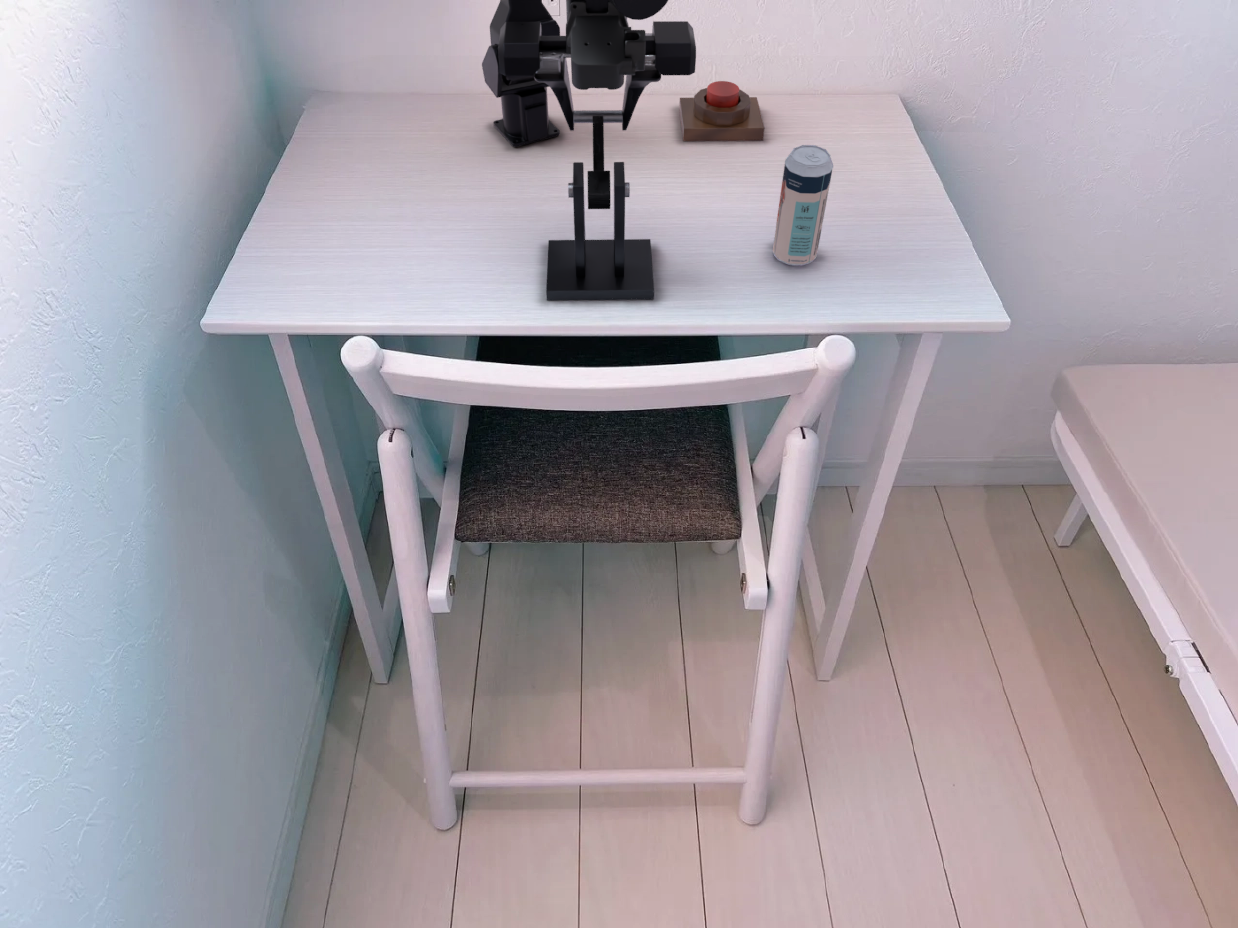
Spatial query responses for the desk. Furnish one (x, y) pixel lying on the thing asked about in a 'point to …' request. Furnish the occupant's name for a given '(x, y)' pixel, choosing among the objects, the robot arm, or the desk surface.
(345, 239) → the desk surface
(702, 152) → the desk surface
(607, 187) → the lever
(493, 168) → the desk surface
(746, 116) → the button block
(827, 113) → the desk surface
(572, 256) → the bracket
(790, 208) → the beer can
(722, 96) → the button
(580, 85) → the robot arm
